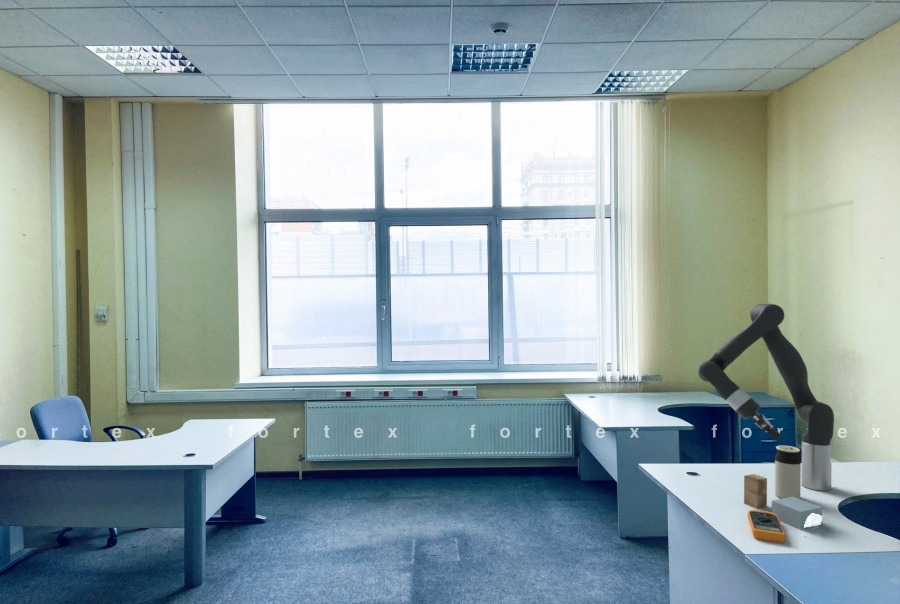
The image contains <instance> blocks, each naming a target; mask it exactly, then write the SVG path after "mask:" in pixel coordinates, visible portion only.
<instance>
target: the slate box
mask: <svg viewBox="0 0 900 604" xmlns="http://www.w3.org/2000/svg"><path fill="white" fill-rule="evenodd" d="M771 513H774V514H776V515H777V516H778V518H779V521H780V523H783V524H786V525H789V527H793V528H796V529H798V530H804V529H803V528H804V524H805V521H806V519H807V517H808V516H809V515H810V514H811V513H815V514H819V515H821V516H822V517H823V507H822V506H821V505H817V504H815V503H812V502H809V501H806V500H803V499H801V498H800V499H798V498H796V497H788V498H778V499H774V500H771ZM820 526H823V521H822V522H821V525H820Z"/></svg>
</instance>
